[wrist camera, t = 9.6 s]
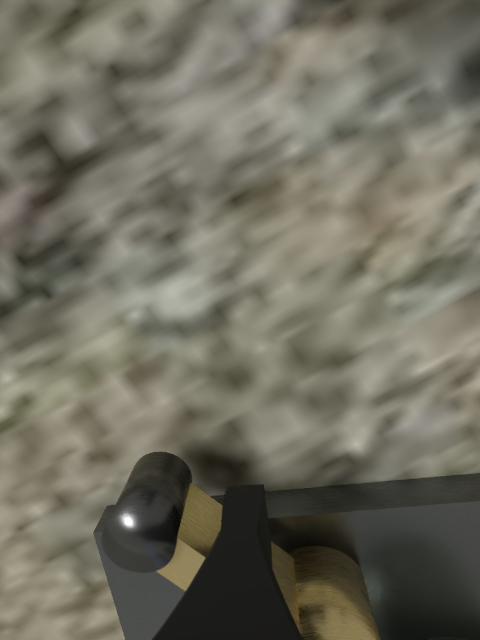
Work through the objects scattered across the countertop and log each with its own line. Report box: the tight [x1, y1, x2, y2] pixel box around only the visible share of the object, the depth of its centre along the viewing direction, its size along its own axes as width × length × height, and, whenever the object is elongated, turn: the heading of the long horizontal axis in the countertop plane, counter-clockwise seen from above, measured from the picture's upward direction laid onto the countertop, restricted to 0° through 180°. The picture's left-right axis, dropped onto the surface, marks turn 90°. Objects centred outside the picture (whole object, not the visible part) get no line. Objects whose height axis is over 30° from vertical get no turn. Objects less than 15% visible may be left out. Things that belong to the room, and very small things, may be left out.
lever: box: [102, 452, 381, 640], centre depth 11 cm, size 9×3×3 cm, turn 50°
